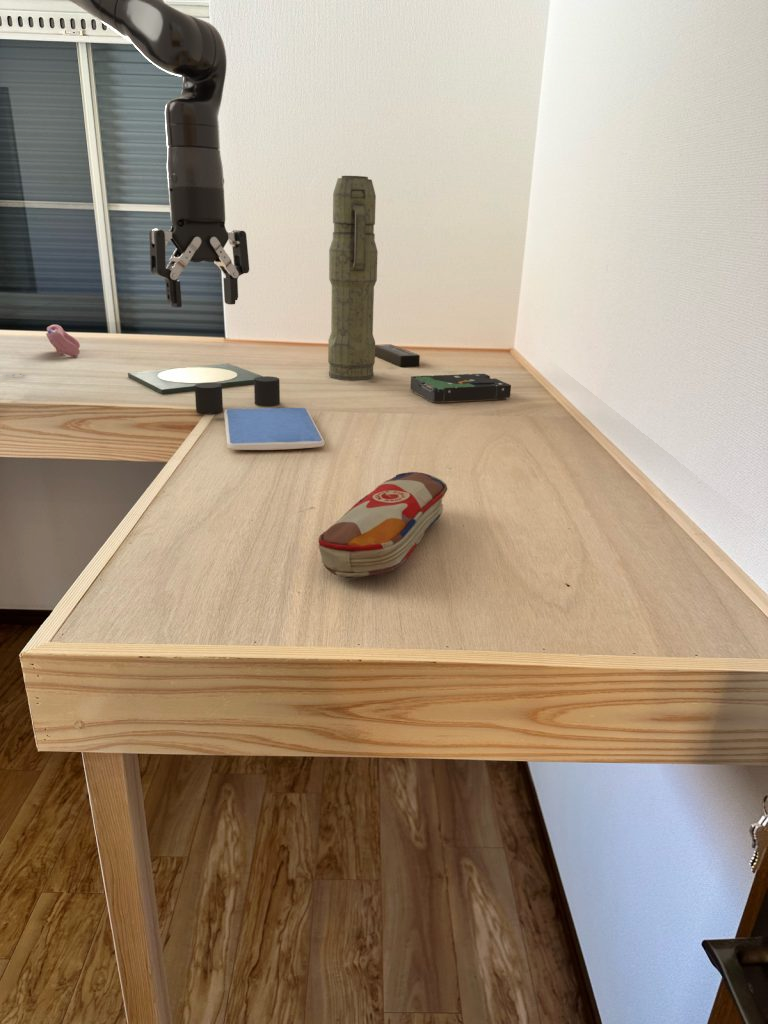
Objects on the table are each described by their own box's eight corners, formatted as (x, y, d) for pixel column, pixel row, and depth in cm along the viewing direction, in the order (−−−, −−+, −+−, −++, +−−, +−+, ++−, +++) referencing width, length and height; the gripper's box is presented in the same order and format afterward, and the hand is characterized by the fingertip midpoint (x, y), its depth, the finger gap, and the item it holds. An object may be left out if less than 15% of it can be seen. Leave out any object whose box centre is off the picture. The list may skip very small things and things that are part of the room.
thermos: (338, 382, 134) (341, 173, 121) (320, 370, 144) (321, 176, 131) (383, 380, 137) (390, 176, 124) (362, 369, 147) (367, 179, 134)
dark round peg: (203, 415, 109) (201, 388, 107) (191, 409, 112) (190, 383, 110) (227, 412, 111) (226, 386, 110) (216, 406, 114) (214, 381, 113)
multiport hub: (401, 367, 150) (401, 355, 150) (372, 355, 162) (373, 344, 162) (420, 366, 152) (420, 355, 151) (390, 354, 164) (390, 344, 163)
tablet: (224, 415, 109) (223, 407, 109) (307, 414, 112) (307, 405, 111) (227, 454, 92) (226, 444, 91) (326, 451, 94) (326, 441, 94)
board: (161, 394, 121) (161, 388, 120) (128, 376, 132) (127, 372, 132) (268, 382, 132) (268, 377, 132) (228, 367, 144) (228, 362, 143)
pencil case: (275, 563, 63) (273, 510, 61) (396, 500, 79) (398, 456, 77) (379, 601, 58) (381, 543, 56) (488, 525, 73) (493, 478, 71)
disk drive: (482, 388, 135) (408, 390, 130) (483, 373, 134) (409, 375, 128) (510, 400, 126) (433, 404, 121) (512, 384, 125) (434, 387, 120)
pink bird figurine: (62, 356, 156) (42, 327, 153) (81, 346, 157) (62, 316, 153) (61, 365, 148) (39, 334, 144) (81, 354, 148) (60, 323, 145)
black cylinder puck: (262, 407, 115) (261, 382, 113) (250, 402, 118) (249, 377, 116) (284, 404, 117) (284, 379, 115) (272, 399, 120) (271, 375, 118)
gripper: (230, 187, 108) (235, 300, 114) (135, 182, 100) (146, 305, 106) (254, 187, 102) (259, 306, 109) (157, 182, 94) (167, 311, 100)
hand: (203, 305), depth 107 cm, fingers open, 8 cm apart
